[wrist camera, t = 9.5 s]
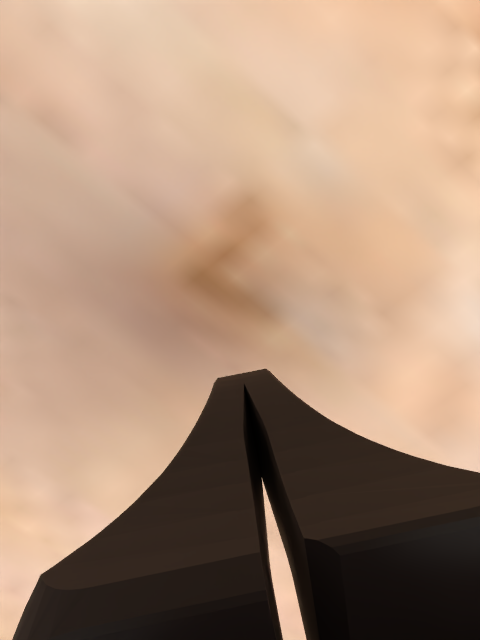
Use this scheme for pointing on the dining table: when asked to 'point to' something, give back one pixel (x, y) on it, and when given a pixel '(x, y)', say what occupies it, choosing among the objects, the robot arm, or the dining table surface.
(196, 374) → the dining table surface
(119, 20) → the dining table surface
